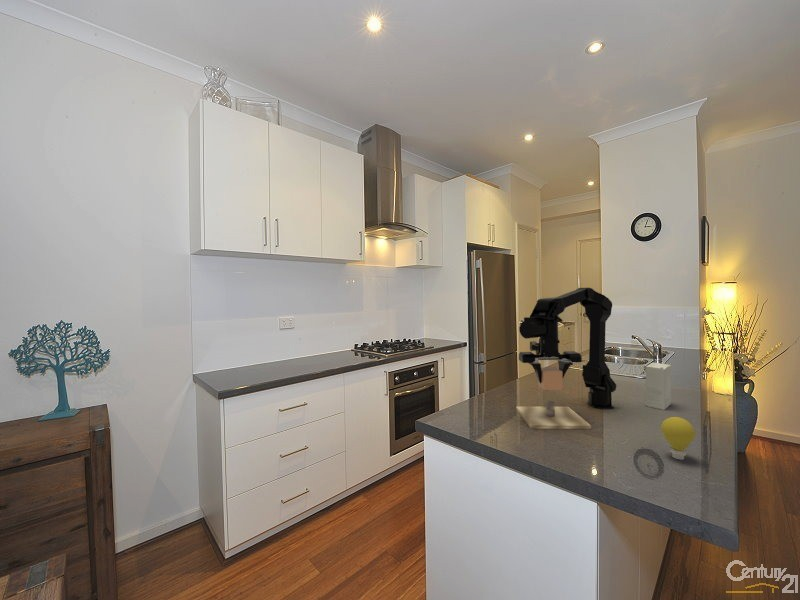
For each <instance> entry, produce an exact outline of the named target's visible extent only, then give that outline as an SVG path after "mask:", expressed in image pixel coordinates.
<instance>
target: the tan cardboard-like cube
mask: <svg viewBox="0 0 800 600" xmlns="http://www.w3.org/2000/svg"><path fill="white" fill-rule="evenodd" d="M541 377H542V380H541V383H539V381H538V380H537V385H538V387H540V388H541V389H543V391H548V390H549V391H561V390H564V389H563V388H564V383H563V382H564V381H563V380H564V377H563V375H562V371H561V370H559V367H555V366H554V367H548V366H547V367H541Z"/></svg>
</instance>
